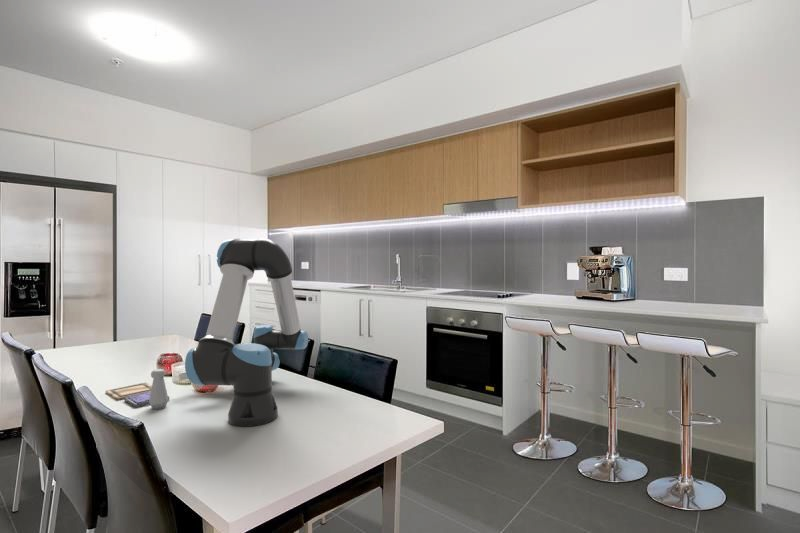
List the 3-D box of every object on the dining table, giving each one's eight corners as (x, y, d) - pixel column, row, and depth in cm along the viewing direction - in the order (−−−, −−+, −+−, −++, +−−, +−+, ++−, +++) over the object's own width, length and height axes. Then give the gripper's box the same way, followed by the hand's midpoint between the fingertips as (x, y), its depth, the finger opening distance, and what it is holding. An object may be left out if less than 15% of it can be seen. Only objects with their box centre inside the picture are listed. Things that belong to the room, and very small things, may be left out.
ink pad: (169, 399, 160) (169, 395, 160) (135, 407, 152) (135, 403, 152) (157, 393, 168) (157, 389, 168) (124, 401, 159) (124, 396, 159)
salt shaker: (160, 410, 149) (159, 372, 149) (145, 409, 150) (144, 371, 150) (172, 404, 155) (171, 368, 155) (157, 403, 156) (157, 367, 156)
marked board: (159, 391, 170) (159, 388, 170) (117, 400, 160) (117, 397, 160) (145, 384, 180) (145, 381, 180) (105, 392, 169) (105, 390, 169)
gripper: (259, 383, 168) (203, 398, 152) (226, 372, 184) (173, 383, 168) (258, 364, 167) (203, 376, 151) (226, 354, 184) (173, 364, 168)
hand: (187, 380), depth 160 cm, fingers open, 13 cm apart
